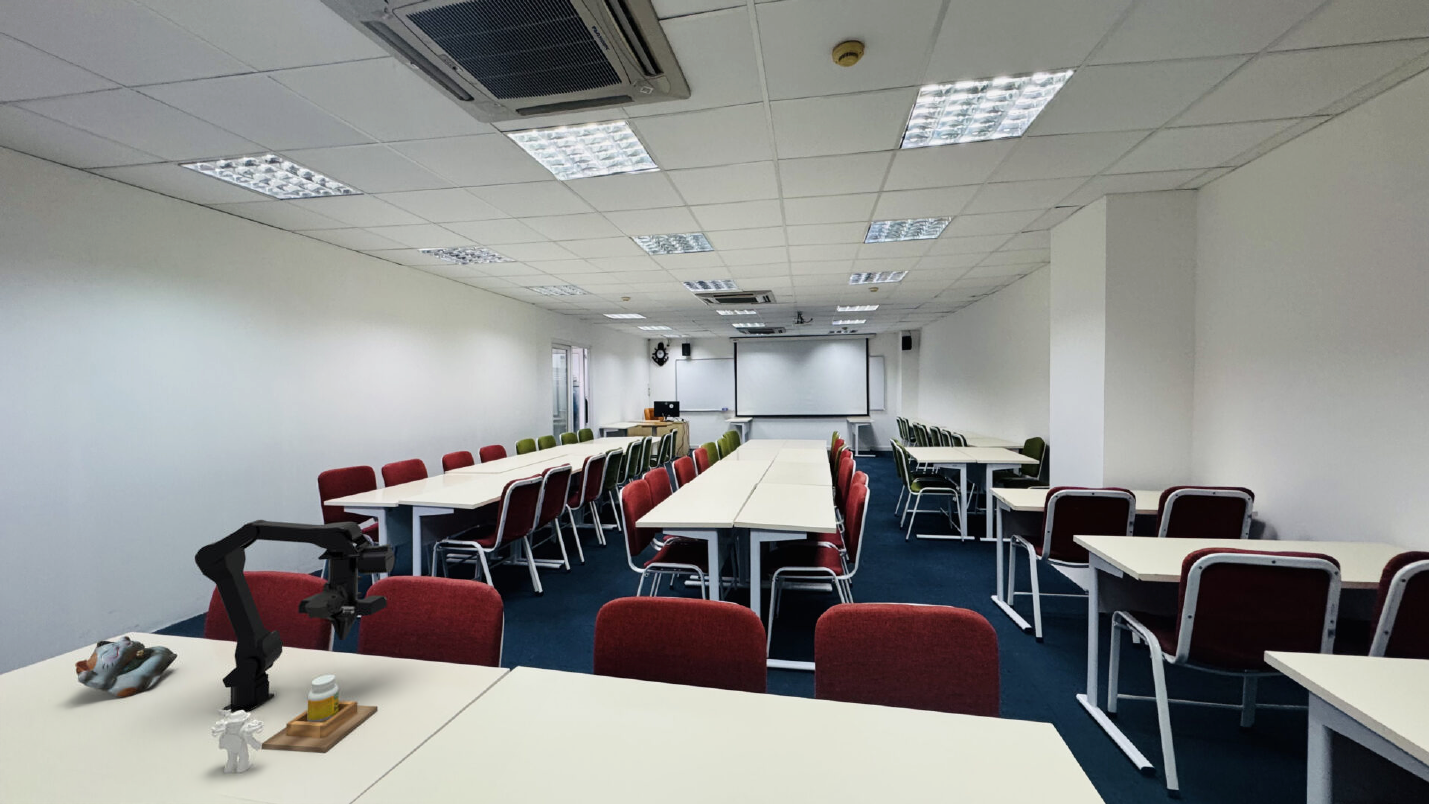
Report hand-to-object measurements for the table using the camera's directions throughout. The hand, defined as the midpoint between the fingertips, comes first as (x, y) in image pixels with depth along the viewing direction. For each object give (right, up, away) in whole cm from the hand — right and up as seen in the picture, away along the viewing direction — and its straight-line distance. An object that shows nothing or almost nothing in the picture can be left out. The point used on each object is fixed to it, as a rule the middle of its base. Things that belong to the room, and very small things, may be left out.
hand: (342, 639), depth 122 cm
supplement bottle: (+6, -12, -13) cm, 19 cm away
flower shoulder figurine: (-1, -13, -26) cm, 29 cm away
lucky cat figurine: (-55, -13, +2) cm, 56 cm away
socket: (+6, -13, -14) cm, 20 cm away
